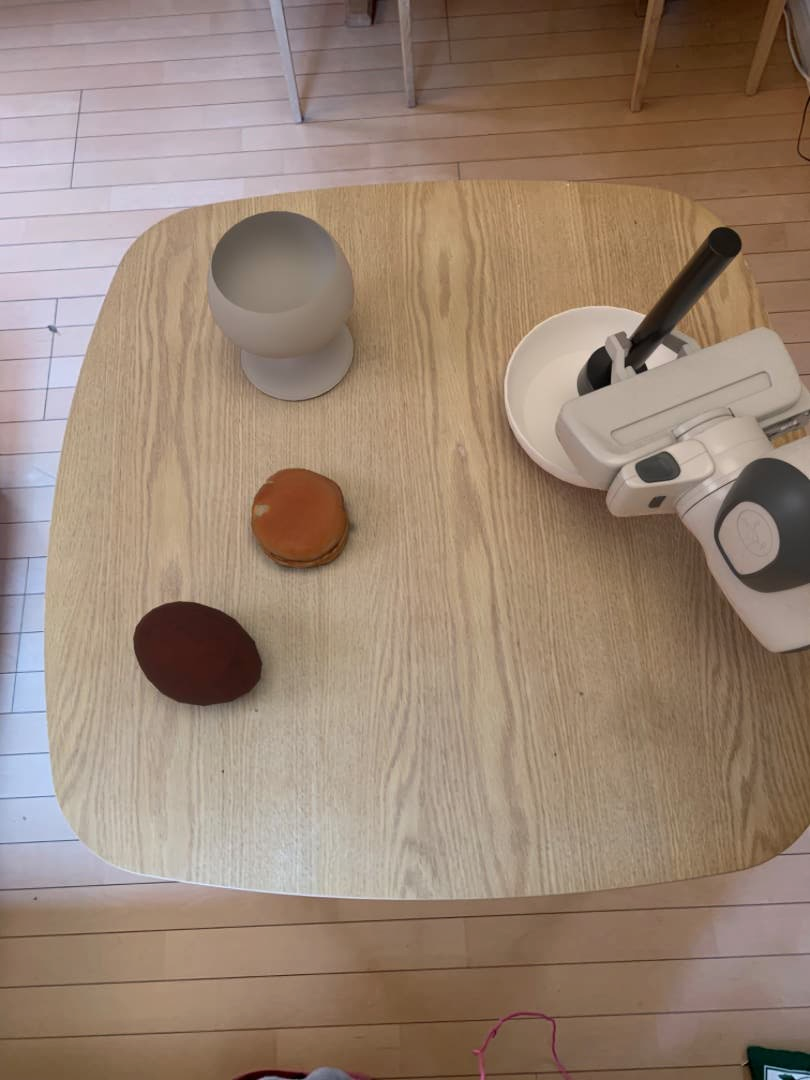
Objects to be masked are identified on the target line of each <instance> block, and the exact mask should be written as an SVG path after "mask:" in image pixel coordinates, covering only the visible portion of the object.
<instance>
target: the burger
mask: <svg viewBox="0 0 810 1080" xmlns="http://www.w3.org/2000/svg"><path fill="white" fill-rule="evenodd" d="M344 499H345V498H344V495H343V492H342V488H341V487H340V485H339V484H338V483H337V482H336V481H335V480H333V479H331V478H329V477H328V476H326V475H323V474H320V473H318V472H315V471H313V470H310V469H306V468H300V467H293V468H292V467H290V468H284V469H280V470H277V472H275V473H273V474H271V475H270V476H269V477H268V478H267V479H266V482H265V483H264V484H263V485H262V486H260V487H259V489H258V491H256V494H255V495H254V497H253V501H252V506H251V518H250V526H251V529H252V533H253V535H254V537H255V538H256V540H257V543H258V544H259V547H260V549H262V551H263V552H264V554H265V555H267V557H268V558H270V559H271V560H272V561H274V562H275V563H277V564H278V565H280V566H288V567H292V568H299V569H305V568H312V567H317V566H320V565H326V564H329V563H331V562H332V561H334V560H335V559H336V558H337V557H338V556H339V555H340V553H341V552H342V551H343V549H344V547H345V545H346V544H347V541H348V539H349V533H350V519H349V516H348V512H347V509H346V506H345V500H344Z"/></svg>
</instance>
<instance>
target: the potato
mask: <svg viewBox="0 0 810 1080" xmlns="http://www.w3.org/2000/svg"><path fill="white" fill-rule="evenodd" d="M132 643H133V651H134V655H135V658H136V660H137V663H138V665H139V668H140V669H141V671H142V673H143V674H144V676H145V678H146V679H147V680H148V682H150V684H151V685H153V686H154V687H155V688H156V689H157V690H158V691H159V692H160V693H161V694H162V695H163V696H165V697H167V698H168V699H170V700H173V701H175V702H177V703H179V704H185V705H193V706H199V707H207V706H213V705H220V704H225V703H226V704H227V703H231V702H233V701H236V700H238V699H239V698H241V697H243V696H245V695H247V694H249V693H250V692H252V690H253V689H254V688H255V686H256V685H257V684H258V683H259V682H260V680H261V678H262V669H263V662H262V658H261V656H260V653H259V650H258V648H257V645H256V644H257V643H256V641H255V640H254V639H253V638H252V636H251V635H250V634H249V633H248V631H246V630H245V628H244V627H243V626H242V625H241V624H240V622H239V621H238V620H237V619H236V618H234V617H232V616H231V615H230V614H228V613H226V612H224V611H222V610H221V609H218V608H216V607H212V606H209V605H207V604H206V605H205V604H203V603H199V602H196V601H184V600H183V601H182V600H178V601H173V602H165V603H163V604H161V605H159V606H156V607H154V608H152V609H151V610H150V611H148V612H147V613H146V614H144V615H143V616H142V617H141V618H140V620H139V621H138V623H137V624H136V626H135V628H134V633H133V637H132Z"/></svg>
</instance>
